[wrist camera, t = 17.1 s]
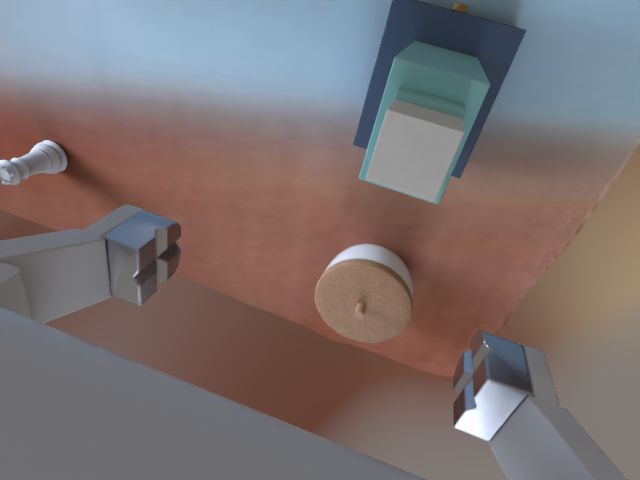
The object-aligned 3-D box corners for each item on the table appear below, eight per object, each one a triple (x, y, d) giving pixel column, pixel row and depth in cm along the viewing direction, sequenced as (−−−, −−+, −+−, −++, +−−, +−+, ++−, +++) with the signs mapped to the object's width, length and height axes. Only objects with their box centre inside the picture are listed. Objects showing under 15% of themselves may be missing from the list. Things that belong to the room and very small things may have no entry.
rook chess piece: (68, 176, 57) (16, 198, 50) (41, 159, 57) (-14, 179, 50) (71, 150, 54) (18, 170, 48) (43, 132, 54) (-15, 150, 48)
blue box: (404, -11, 35) (396, -15, 30) (519, 19, 34) (530, 20, 29) (365, 128, 42) (352, 144, 37) (458, 157, 40) (459, 178, 36)
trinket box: (414, 227, 46) (406, 272, 38) (420, 303, 50) (414, 357, 43) (325, 230, 49) (300, 272, 41) (338, 301, 54) (319, 350, 46)
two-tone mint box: (404, 79, 36) (452, -107, 21) (459, 95, 35) (548, -85, 20) (346, 237, 33) (353, 152, 18) (405, 258, 32) (464, 188, 17)
